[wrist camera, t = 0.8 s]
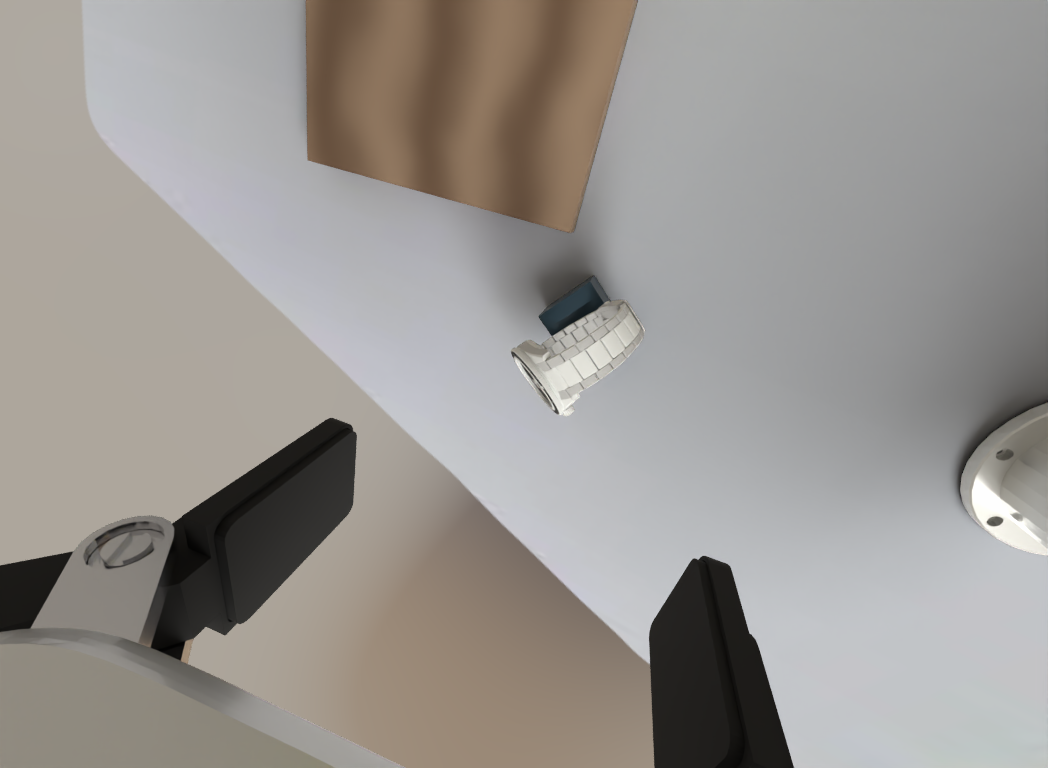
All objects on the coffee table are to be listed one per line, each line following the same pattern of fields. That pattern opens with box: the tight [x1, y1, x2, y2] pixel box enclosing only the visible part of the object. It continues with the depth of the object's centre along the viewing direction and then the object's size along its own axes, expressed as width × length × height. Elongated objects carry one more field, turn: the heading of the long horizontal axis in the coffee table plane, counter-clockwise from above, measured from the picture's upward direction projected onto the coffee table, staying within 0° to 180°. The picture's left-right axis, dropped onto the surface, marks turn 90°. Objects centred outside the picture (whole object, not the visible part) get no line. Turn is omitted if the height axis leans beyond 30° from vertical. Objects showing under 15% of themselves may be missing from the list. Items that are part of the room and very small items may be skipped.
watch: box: [511, 276, 645, 417], centre depth 25 cm, size 6×8×11 cm
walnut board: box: [306, 0, 638, 233], centre depth 25 cm, size 20×16×2 cm
